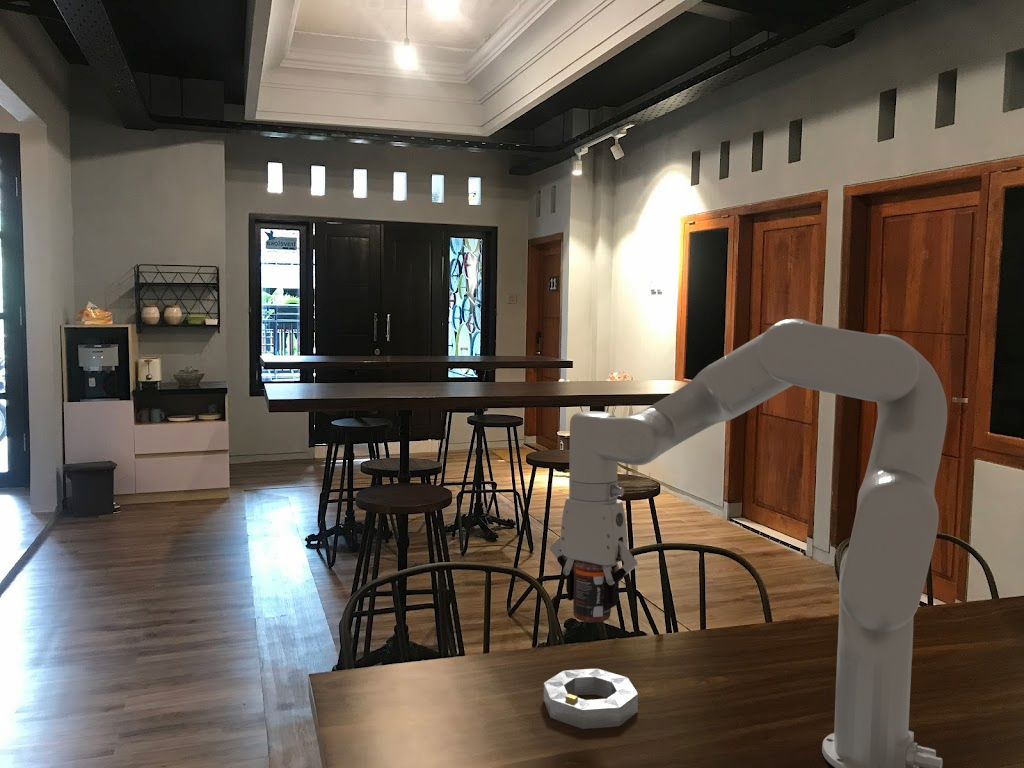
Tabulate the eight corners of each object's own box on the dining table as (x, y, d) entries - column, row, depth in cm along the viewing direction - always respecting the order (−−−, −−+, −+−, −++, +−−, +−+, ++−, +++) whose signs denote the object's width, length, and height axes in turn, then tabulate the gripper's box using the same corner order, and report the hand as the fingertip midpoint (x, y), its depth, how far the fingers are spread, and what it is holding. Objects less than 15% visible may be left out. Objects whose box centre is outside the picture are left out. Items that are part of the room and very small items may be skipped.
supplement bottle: (609, 625, 129) (610, 553, 128) (570, 622, 130) (571, 551, 129) (612, 612, 134) (613, 543, 134) (575, 609, 136) (576, 541, 135)
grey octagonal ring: (649, 702, 135) (650, 680, 135) (605, 737, 124) (606, 713, 123) (576, 679, 143) (576, 658, 143) (528, 710, 132) (528, 687, 132)
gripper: (653, 493, 128) (651, 607, 130) (560, 480, 139) (559, 585, 140) (630, 502, 122) (628, 621, 124) (534, 487, 133) (533, 597, 134)
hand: (592, 601), depth 132 cm, fingers closed on supplement bottle, 6 cm apart
